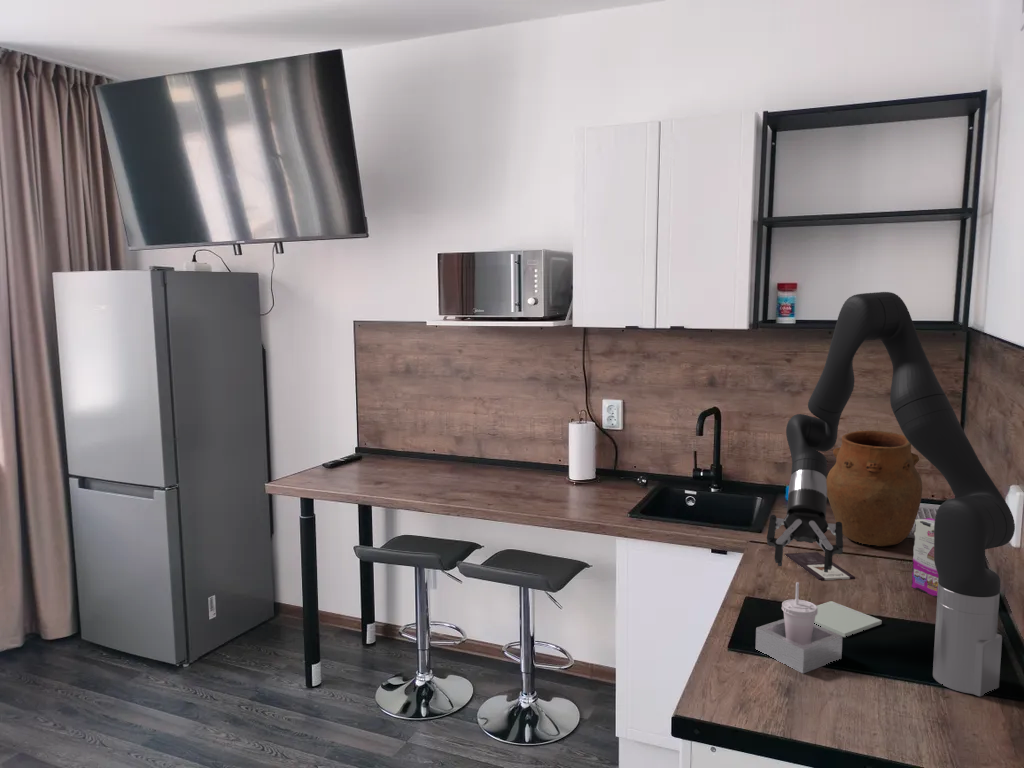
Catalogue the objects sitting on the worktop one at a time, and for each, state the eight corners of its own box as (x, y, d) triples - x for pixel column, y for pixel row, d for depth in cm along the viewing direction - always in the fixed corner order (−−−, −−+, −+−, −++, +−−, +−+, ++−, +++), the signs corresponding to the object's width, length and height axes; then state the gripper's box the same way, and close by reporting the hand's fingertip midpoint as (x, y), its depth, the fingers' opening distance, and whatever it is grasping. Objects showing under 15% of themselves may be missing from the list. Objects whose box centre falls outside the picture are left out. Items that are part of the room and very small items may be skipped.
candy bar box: (969, 601, 170) (973, 529, 168) (952, 604, 168) (957, 532, 166) (925, 584, 180) (929, 516, 179) (910, 587, 179) (913, 518, 177)
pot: (819, 546, 208) (823, 438, 205) (828, 523, 229) (832, 424, 226) (919, 560, 197) (925, 445, 193) (918, 534, 218) (924, 430, 215)
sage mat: (881, 624, 159) (881, 620, 158) (844, 637, 152) (844, 633, 152) (831, 604, 169) (831, 600, 169) (794, 616, 163) (794, 612, 163)
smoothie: (787, 643, 150) (789, 574, 148) (820, 653, 146) (823, 582, 144) (774, 655, 145) (777, 584, 143) (809, 665, 141) (812, 592, 139)
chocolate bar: (817, 552, 202) (855, 576, 184) (817, 555, 202) (854, 580, 184) (785, 553, 201) (819, 578, 183) (784, 557, 201) (819, 582, 183)
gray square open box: (841, 658, 143) (842, 635, 143) (802, 673, 138) (803, 649, 137) (793, 637, 153) (794, 615, 152) (755, 650, 147) (756, 627, 147)
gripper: (770, 484, 160) (764, 554, 151) (845, 490, 154) (842, 563, 145) (772, 502, 165) (765, 571, 156) (843, 509, 160) (841, 581, 150)
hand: (802, 567), depth 151 cm, fingers open, 8 cm apart
